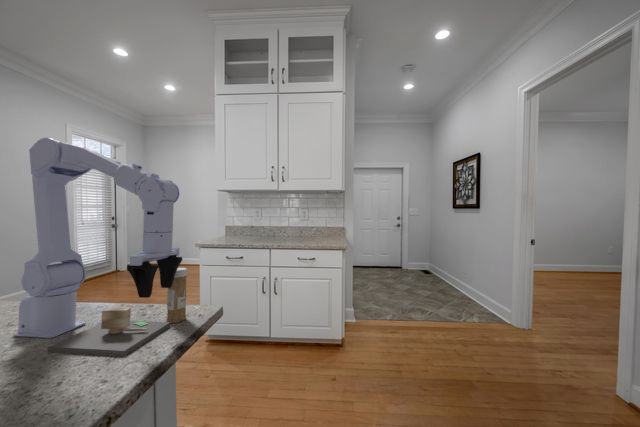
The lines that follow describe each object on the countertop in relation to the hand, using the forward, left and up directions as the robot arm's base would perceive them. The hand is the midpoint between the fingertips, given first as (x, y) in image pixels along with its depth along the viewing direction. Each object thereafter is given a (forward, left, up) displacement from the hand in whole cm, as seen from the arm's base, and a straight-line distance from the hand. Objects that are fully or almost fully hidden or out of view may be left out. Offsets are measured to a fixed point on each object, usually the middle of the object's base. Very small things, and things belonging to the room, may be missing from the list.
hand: (156, 292), depth 60 cm
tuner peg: (-6, -1, -9) cm, 11 cm away
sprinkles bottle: (-1, +9, -10) cm, 14 cm away
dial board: (-8, -2, -10) cm, 13 cm away
